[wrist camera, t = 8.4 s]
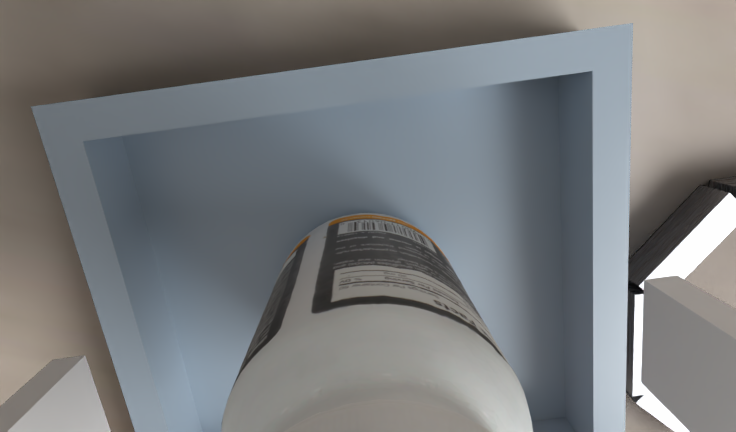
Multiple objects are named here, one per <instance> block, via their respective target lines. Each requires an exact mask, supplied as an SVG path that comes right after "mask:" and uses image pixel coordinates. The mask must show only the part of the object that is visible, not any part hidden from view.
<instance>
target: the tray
mask: <svg viewBox="0 0 736 432" xmlns="http://www.w3.org/2000/svg"><path fill="white" fill-rule="evenodd" d="M632 41H633V23H630V24H623V25H616V26H608V27H601V28H594V29H587V30H580V31H572V32H565V33H558V34H551V35H544V36H536V37H529V38H522V39H515V40H508V41H500V42H493V43H486V44H479V45H471V46H464V47H457V48H450V49H443V50H435V51H428V52H421V53H414V54H407V55H399V56H392V57H385V58H378V59H370V60H363V61H356V62H349V63H342V64H334V65H327V66H320V67H313V68H306V69H298V70H291V71H284V72H277V73H269V74H262V75H255V76H248V77H241V78H233V79H226V80H219V81H212V82H205V83H197V84H190V85H183V86H176V87H169V88H161V89H154V90H147V91H140V92H132V93H125V94H118V95H111V96H104V97H96V98H89V99H82V100H75V101H68V102H60V103H53V104H46V105H39V106H31V108H32V111H33V114H34V118H35V121H36V124H37V127H38V130H39V133H40V136H41V139H42V143H43V146H44V149H45V152H46V155H47V158H48V161H49V164H50V168H51V171H52V174H53V177H54V180H55V183H56V186H57V189H58V193H59V196H60V199H61V202H62V205H63V208H64V211H65V214H66V217H67V221H68V224H69V227H70V230H71V233H72V236H73V239H74V242H75V246H76V249H77V252H78V255H79V258H80V261H81V264H82V267H83V271H84V274H85V277H86V280H87V283H88V286H89V289H90V292H91V296H92V299H93V302H94V305H95V308H96V311H97V314H98V317H99V321H100V324H101V327H102V330H103V333H104V336H105V339H106V342H107V346H108V349H109V352H110V355H111V358H112V361H113V364H114V367H115V371H116V374H117V377H118V380H119V383H120V386H121V389H122V392H123V396H124V399H125V402H126V405H127V408H128V411H129V414H130V417H131V421H132V424H133V427H134V430H135V432H221V430H222V419H223V414H224V411H225V408H226V404H227V400H228V398H229V395H230V393H231V390H232V388H233V385H234V383H235V380H236V378H237V375H238V373H239V370H240V368H241V365H242V363H243V361H244V358H245V356H246V353H247V351H248V348H249V345H250V343H251V341H252V339H253V336H254V334H255V332H256V329H257V326H258V324H259V322H260V319H261V317H262V314H263V312H264V310H265V307H266V305H267V303H268V300H269V298H270V295H271V293H272V290H273V288H274V286H275V283H276V280H277V277H278V275H279V273H280V271H281V269H282V267H283V265H284V263H285V261H286V260H287V258H288V256H289V255H290V253H291V252H292V250H293V249H294V248H295V246H296V245H297V244H298V243H299V242H300V241H301V240H302V239H303V238H304V237H305V236H306V235H307V234H308V233H309V232H311V231H312V230H314V229H315V228H317V227H318V226H320V225H322V224H324V223H325V222H327V221H329V220H332V219H335V218H339V217H342V216H346V215H351V214H358V213H377V214H385V215H389V216H393V217H396V218H399V219H402V220H404V221H407V222H409V223H411V224H412V225H414V226H416V227H418V228H419V229H420V230H422V231H423V232H425V233H426V234H427V235H428V236H429V237H430V238H431V239H432V240H433V241H434V242H435V243H436V244H437V245H438V247H439V248H440V249H441V250H442V252H443V253H444V255H445V256H446V258H447V259H448V261H449V263H450V264H451V266H452V268H453V269H454V271H455V273H456V275H457V277H458V278H459V280H460V281H461V283H462V285H463V287H464V289H465V290H466V292H467V294H468V296H469V298H470V299H471V301H472V303H473V304H474V306H475V308H476V310H477V311H478V313H479V314H480V316H481V318H482V320H483V321H484V323H485V324H486V326H487V327H488V329H489V331H490V333H491V335H492V337H493V339H494V340H495V342H496V344H497V345H498V347H499V348H500V350H501V351H502V353H503V355H504V357H505V358H506V360H507V362H508V363H509V365H510V366H511V368H512V369H513V371H514V372H515V374H516V375H517V377H518V380H519V382H520V384H521V386H522V388H523V391H524V394H525V397H526V401H527V404H528V408H529V412H530V416H531V421H532V427H533V432H625V409H626V356H627V304H628V251H629V199H630V146H631V94H632Z"/></svg>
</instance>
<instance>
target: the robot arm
mask: <svg viewBox="0 0 736 432" xmlns="http://www.w3.org/2000/svg"><path fill="white" fill-rule="evenodd" d="M641 383H642V384H643V385H644V386H645V387H646V388H647V389H648V390H649V391H650V392H651V393H652V394H653V395H654V396H655V397H656V398H657V399H658V400H659V401H660V402H661V403H662V404H663V405H664V406H665V407H666V408H667V409H668V410H669V411H670V412H671V413H672V414H673V415H674V416H675V417H676V418H677V419H678V420H679V421H680V422H681V423H682V424H683V425H684V426H685V427H686V428H687V429H688V430H689V431H690V432H736V309H735V308H733V307H732V306H730V305H728V304H726V303H725V302H723V301H721V300H719V299H718V298H716V297H714V296H712V295H711V294H709V293H707V292H705V291H704V290H702V289H700V288H698V287H697V286H695V285H693V284H691V283H689V282H688V281H686V280H684V279H682V278H681V277H679V276H677V275H676V276H669V277H661V278H654V279H646V280H644V298H643V332H642V366H641ZM0 432H111V431H110V428H109V425H108V422H107V419H106V416H105V413H104V410H103V407H102V404H101V401H100V398H99V395H98V392H97V389H96V386H95V383H94V380H93V377H92V374H91V371H90V368H89V365H88V362H87V359H86V356H85V355H84V356H76V357H69V358H62V359H54V360H52V361H51V362H50V363H48V364H47V365H46V366H45V367H44V368H43V369H42V370H41V371H39V372H38V373H37V374H36V375H35V376H34V377H33V378H32V379H30V380H29V381H28V382H27V383H26V384H25V385H24V386H23V387H21V388H20V389H19V390H18V391H17V392H16V393H15V394H14V395H12V396H11V397H10V398H9V399H8V400H7V401H6V402H5V403H3V404H2V405H1V406H0Z"/></svg>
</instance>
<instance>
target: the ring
mask: <svg viewBox="0 0 736 432" xmlns="http://www.w3.org/2000/svg"><path fill="white" fill-rule="evenodd" d="M735 227H736V177H729V178H722V179H714V180H710V181H709V187H706V186H702V185H700V186H699V187H698V188H697V189H696V190H695V191H694V192H693V193H692V194H691V195H690V196H689V197H688V199H687V200H686V201H685V202H684V203H683V204H682V205H681V206H680V207H679V208H678V209H677V210H676V211H675V212H674V213H673V214H672V215H671V216H670V217H669V219H668V220H667V221H666V222H665V223H664V224H663V225H662V226H661V227H660V228H659V229H658V230H657V231H656V232H655V233H654V234H653V235H652V236H651V237H650V239H649V240H648V241H647V242H646V243H645V244H644V245H643V246H642V247H641V248H640V249H639V250H638V251H637V252H636V253H635V254H634V255H633V256H632V257H631V259H630V260H629V261H628V304H627V356H626V393H627V394H628V395H629V396H630V397H631V398H632V399H633V400H634V402H635V403H636V404H638V405H639V406H641V407H642V408H643V409H645V410H646V411H647V412H649V413H650V414H651V415H653V416H654V417H656V418H657V419H658V420H660V421H661V422H662V423H664V424H665V425H666V426H668V427H669V428H670V429H672V430H673V431H675V432H690V431H689V430H688V429H687V428H686V427H685V426H684V425H683V424H682V423H681V422H680V421H679V420H678V419H677V418H676V417H675V416H674V415H673V414H672V413H671V412H670V411H669V410H668V409H667V408H666V407H665V406H664V405H663V404H662V403H661V402H660V401H659V400H658V399H657V398H656V397H655V396H654V395H653V394H652V393H651V392H650V391H649V390H648V389H647V388H646V387H645V386H644V385H643V384H642V383H641V366H642V332H643V298H644V280H646V279H654V278H661V277H669V276H676V275H677V276H679V277H681V278H682V279H685V278H686V277H687V276H688V275H689V274H690V273H691V272H692V271H693V270H694V269H695V268H696V267H697V266H698V265H699V264H700V263H701V262H702V261H703V260H704V259H705V258H706V257H707V256H708V255H709V254H710V253H711V252H712V251H713V250H714V248H715V247H716V246H717V245H718V244H719V243H720V242H721V241H722V240H723V239H724V238H725V237H726V236H727V235H728V234H729V233H730V232H731V231H732V230H733V229H734V228H735Z"/></svg>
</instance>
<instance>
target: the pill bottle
mask: <svg viewBox="0 0 736 432" xmlns="http://www.w3.org/2000/svg"><path fill="white" fill-rule="evenodd" d="M221 432H533V427H532V421H531V416H530V412H529V408H528V404H527V401H526V397H525V394H524V391H523V388H522V386H521V384H520V382H519V380H518V377H517V375H516V374H515V372H514V371H513V369H512V368H511V366H510V365H509V363H508V362H507V360H506V358H505V357H504V355H503V353H502V351H501V350H500V348H499V347H498V345H497V344H496V342H495V340H494V339H493V337H492V335H491V333H490V331H489V329H488V327H487V326H486V324H485V323H484V321H483V320H482V318H481V316H480V314H479V313H478V311H477V310H476V308H475V306H474V304H473V303H472V301H471V299H470V298H469V296H468V294H467V292H466V290H465V289H464V287H463V285H462V283H461V281H460V280H459V278H458V277H457V275H456V273H455V271H454V269H453V268H452V266H451V264H450V263H449V261H448V259H447V258H446V256H445V255H444V253H443V252H442V250H441V249H440V248H439V247H438V245H437V244H436V243H435V242H434V241H433V240H432V239H431V238H430V237H429V236H428V235H427V234H426V233H425V232H423V231H422V230H420V229H419V228H418V227H416V226H414V225H412V224H411V223H409V222H407V221H404V220H402V219H399V218H396V217H393V216H389V215H385V214H377V213H358V214H351V215H346V216H342V217H339V218H335V219H332V220H329V221H327V222H325V223H324V224H322V225H320V226H318V227H317V228H315V229H314V230H312V231H311V232H309V233H308V234H307V235H306V236H305V237H304V238H303V239H302V240H301V241H300V242H299V243H298V244H297V245H296V246H295V248H294V249H293V250H292V252H291V253H290V255H289V256H288V258H287V260H286V261H285V263H284V265H283V267H282V269H281V271H280V273H279V275H278V277H277V280H276V283H275V286H274V288H273V290H272V293H271V295H270V298H269V300H268V303H267V305H266V307H265V310H264V312H263V314H262V317H261V319H260V322H259V324H258V326H257V329H256V332H255V334H254V336H253V339H252V341H251V343H250V345H249V348H248V351H247V353H246V356H245V358H244V361H243V363H242V365H241V368H240V370H239V373H238V375H237V378H236V380H235V383H234V385H233V388H232V390H231V393H230V395H229V398H228V400H227V404H226V408H225V411H224V414H223V419H222V430H221Z"/></svg>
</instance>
